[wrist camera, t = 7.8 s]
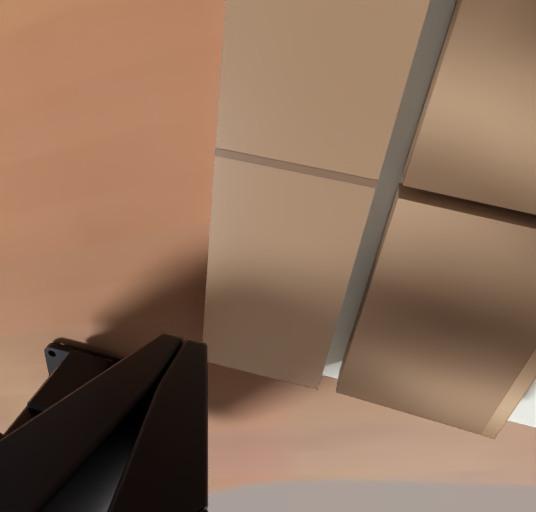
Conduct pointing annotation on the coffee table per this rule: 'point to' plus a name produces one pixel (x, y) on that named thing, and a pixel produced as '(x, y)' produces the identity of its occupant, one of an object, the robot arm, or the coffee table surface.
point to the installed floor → (311, 174)
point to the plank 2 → (447, 313)
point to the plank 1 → (481, 109)
